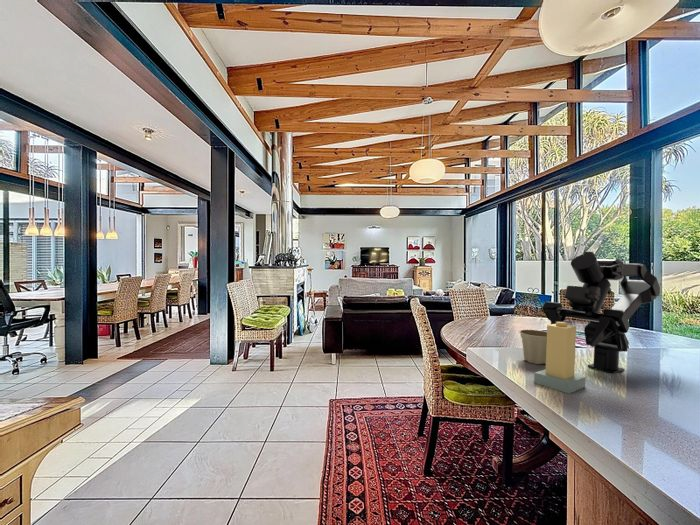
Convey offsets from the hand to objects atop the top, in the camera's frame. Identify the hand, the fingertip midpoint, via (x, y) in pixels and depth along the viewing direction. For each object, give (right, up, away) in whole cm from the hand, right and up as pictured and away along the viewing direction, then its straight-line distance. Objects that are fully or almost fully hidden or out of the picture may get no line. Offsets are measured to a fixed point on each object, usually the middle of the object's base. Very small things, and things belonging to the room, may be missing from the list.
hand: (570, 341), depth 87 cm
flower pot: (0, -10, +17) cm, 20 cm away
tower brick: (-4, -8, -3) cm, 9 cm away
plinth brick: (-4, -10, -2) cm, 11 cm away
